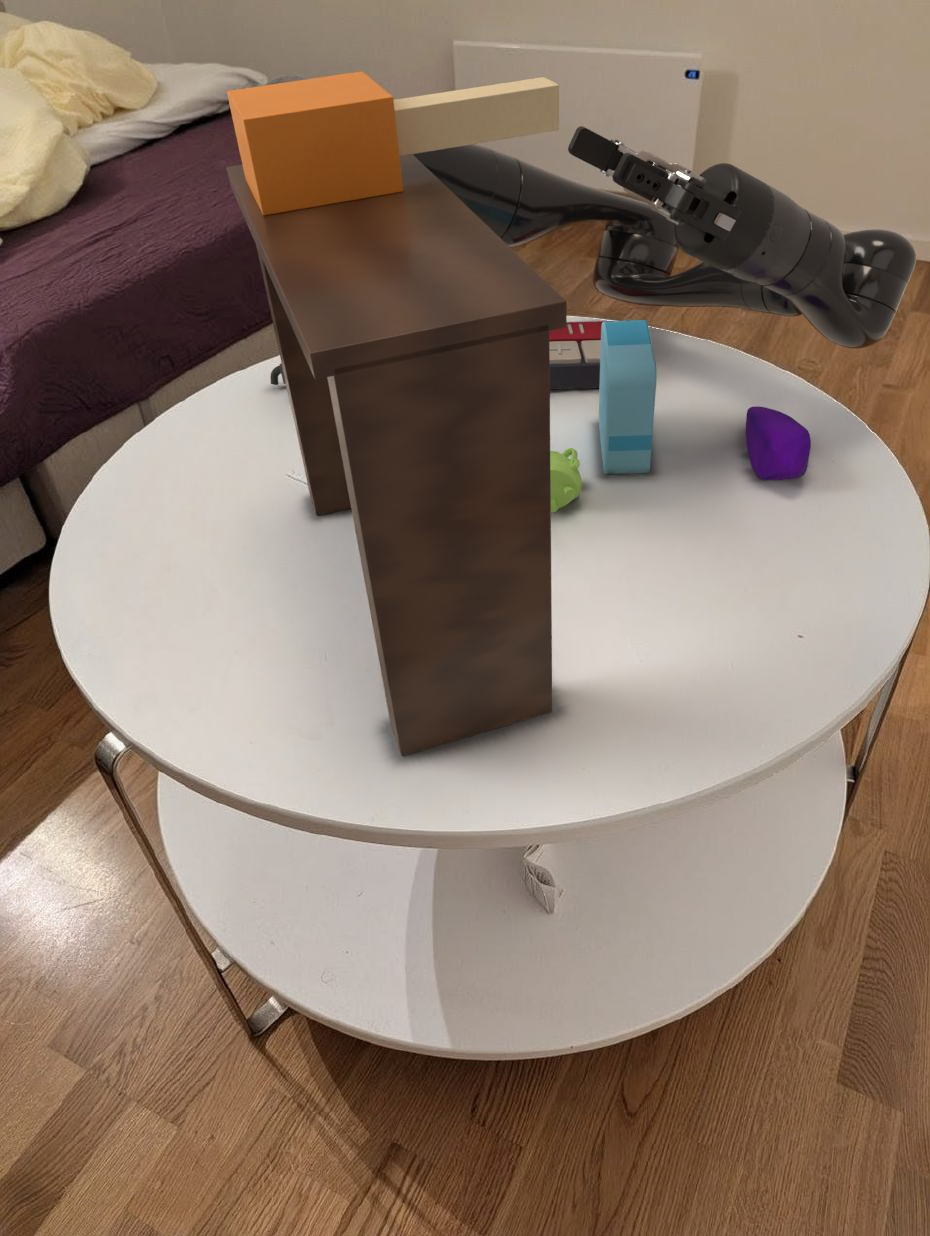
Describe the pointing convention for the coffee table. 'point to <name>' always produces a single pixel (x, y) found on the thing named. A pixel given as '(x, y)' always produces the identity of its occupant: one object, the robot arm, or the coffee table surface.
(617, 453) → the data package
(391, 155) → the toy hammer
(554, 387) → the calculator
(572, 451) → the whimsical teapot
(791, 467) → the crystal
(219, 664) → the coffee table surface
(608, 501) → the coffee table surface
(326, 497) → the shelf
